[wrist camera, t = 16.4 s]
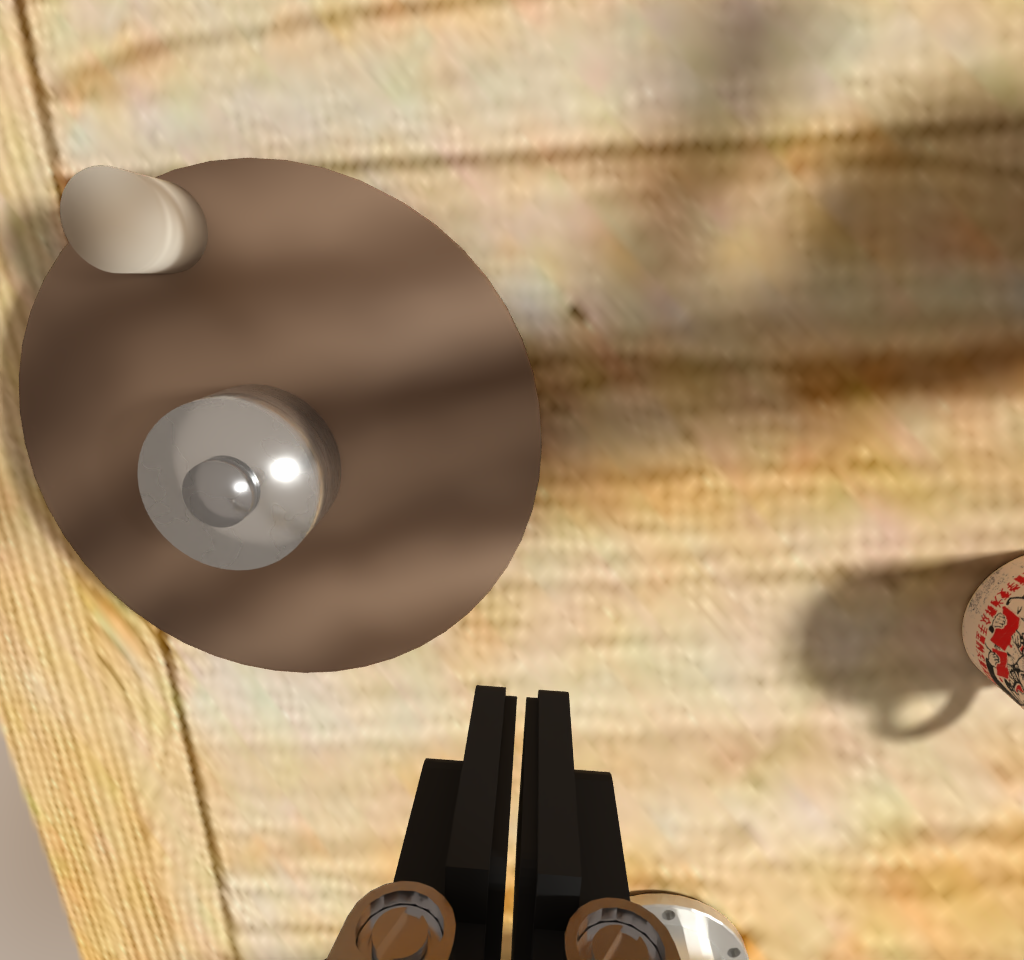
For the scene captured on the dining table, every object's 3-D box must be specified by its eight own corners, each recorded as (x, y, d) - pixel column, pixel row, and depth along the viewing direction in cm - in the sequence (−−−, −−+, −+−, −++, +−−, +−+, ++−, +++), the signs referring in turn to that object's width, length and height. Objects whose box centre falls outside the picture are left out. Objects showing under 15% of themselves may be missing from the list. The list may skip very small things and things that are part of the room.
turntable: (613, 561, 36) (627, 614, 31) (207, 709, 40) (153, 781, 34) (410, 65, 30) (380, 15, 24) (-54, 298, 33) (-176, 303, 28)
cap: (374, 465, 33) (346, 497, 28) (273, 566, 35) (232, 612, 30) (249, 349, 32) (199, 362, 27) (151, 461, 34) (87, 492, 29)
